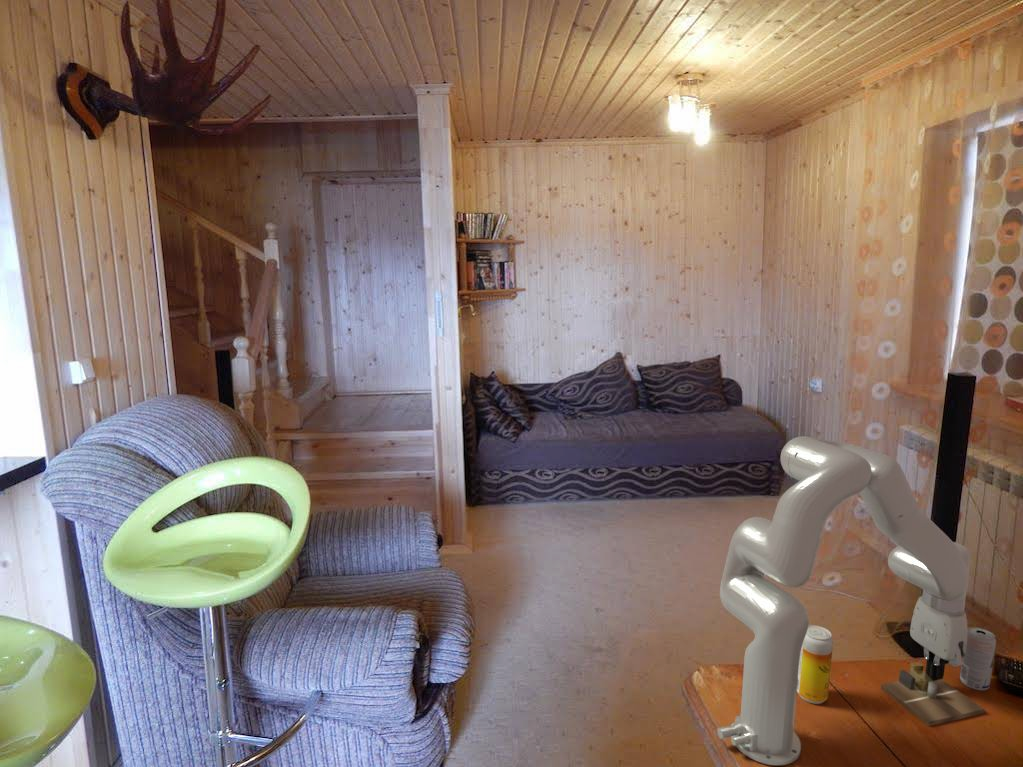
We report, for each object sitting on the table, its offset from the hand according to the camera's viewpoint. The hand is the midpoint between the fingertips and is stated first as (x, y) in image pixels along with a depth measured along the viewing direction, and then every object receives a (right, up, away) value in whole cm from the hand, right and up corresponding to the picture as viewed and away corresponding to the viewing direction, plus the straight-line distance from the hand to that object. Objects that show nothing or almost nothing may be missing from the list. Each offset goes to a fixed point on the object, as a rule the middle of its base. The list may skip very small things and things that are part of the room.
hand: (934, 677), depth 142 cm
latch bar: (-3, -1, 0) cm, 3 cm away
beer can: (-27, -3, -2) cm, 27 cm away
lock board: (-3, -3, -3) cm, 5 cm away
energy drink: (+10, -2, +2) cm, 11 cm away
